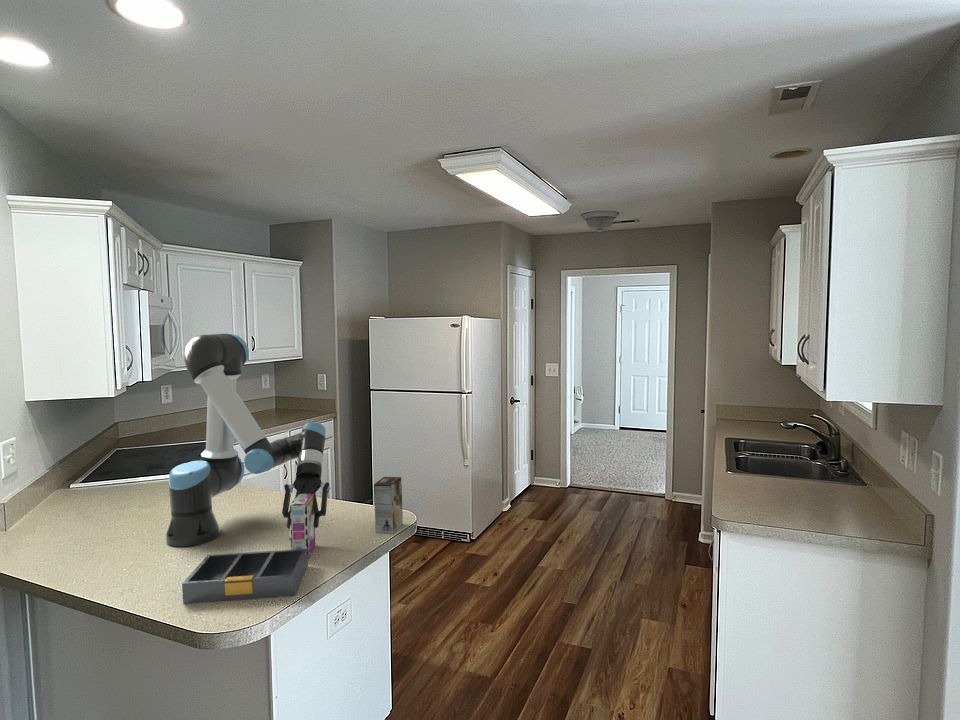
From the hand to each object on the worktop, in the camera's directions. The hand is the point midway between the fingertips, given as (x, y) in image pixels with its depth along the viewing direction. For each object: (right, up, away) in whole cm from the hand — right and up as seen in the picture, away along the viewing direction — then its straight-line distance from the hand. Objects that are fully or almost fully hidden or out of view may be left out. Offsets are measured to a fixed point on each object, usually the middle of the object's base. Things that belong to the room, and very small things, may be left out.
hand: (301, 538), depth 162 cm
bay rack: (-9, -7, -15) cm, 19 cm away
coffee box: (+22, -4, +23) cm, 32 cm away
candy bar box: (0, -6, +4) cm, 7 cm away
